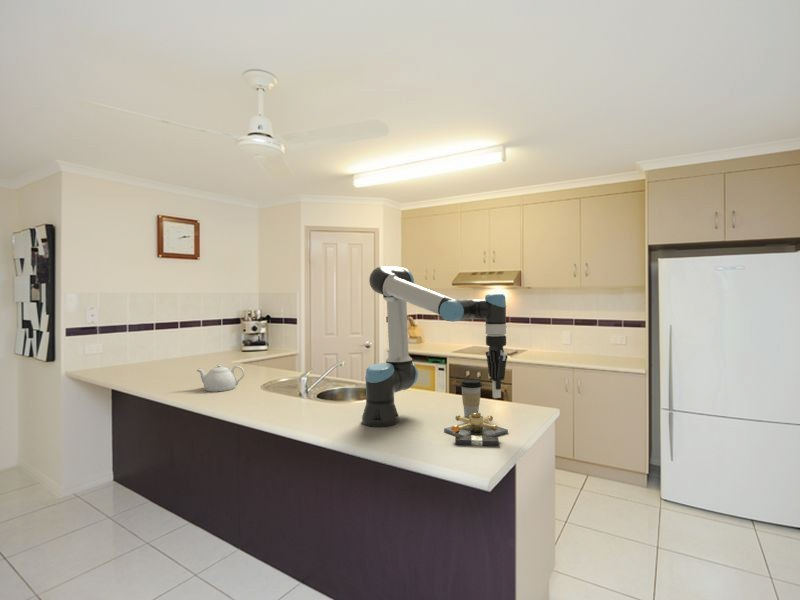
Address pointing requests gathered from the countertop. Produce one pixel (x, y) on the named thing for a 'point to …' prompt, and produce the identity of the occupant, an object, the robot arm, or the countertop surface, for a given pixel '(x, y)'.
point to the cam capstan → (474, 423)
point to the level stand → (477, 436)
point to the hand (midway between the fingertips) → (496, 397)
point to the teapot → (220, 378)
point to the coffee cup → (470, 395)
